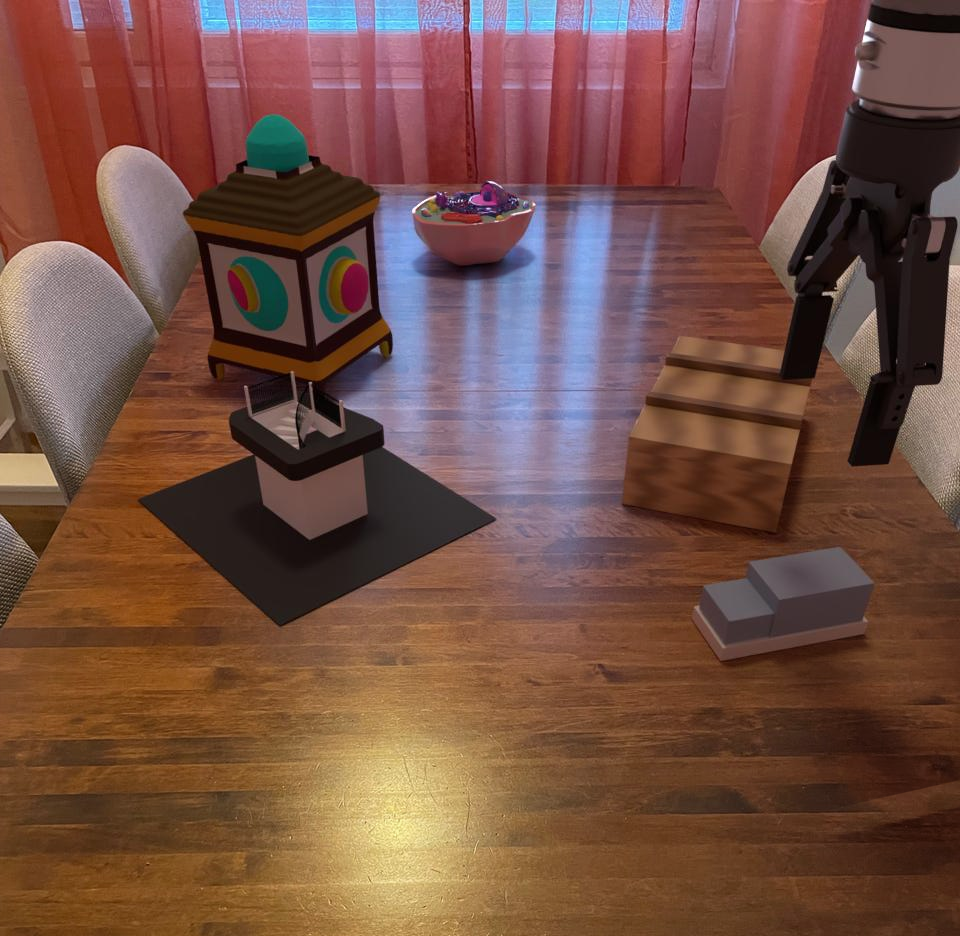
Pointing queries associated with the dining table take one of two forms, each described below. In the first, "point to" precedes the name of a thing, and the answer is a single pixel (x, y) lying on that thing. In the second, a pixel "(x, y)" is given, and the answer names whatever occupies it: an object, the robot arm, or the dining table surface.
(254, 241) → the decorative lantern
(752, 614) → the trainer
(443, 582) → the dining table surface
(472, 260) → the cell model
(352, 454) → the black-topped pedestal
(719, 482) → the stepped wooden block
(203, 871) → the dining table surface
